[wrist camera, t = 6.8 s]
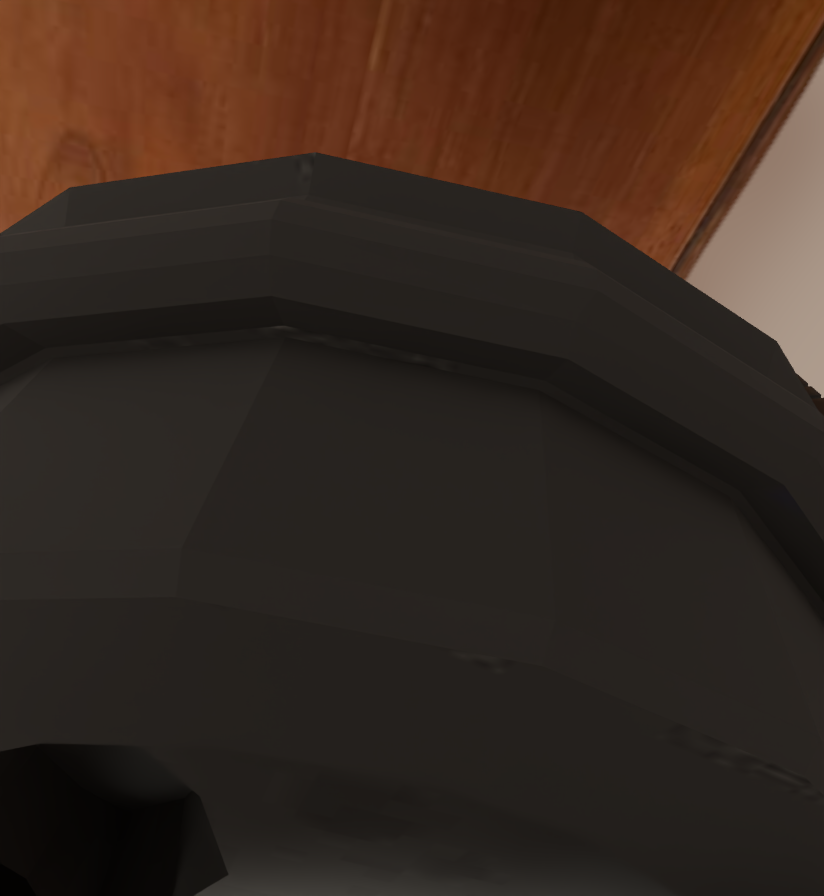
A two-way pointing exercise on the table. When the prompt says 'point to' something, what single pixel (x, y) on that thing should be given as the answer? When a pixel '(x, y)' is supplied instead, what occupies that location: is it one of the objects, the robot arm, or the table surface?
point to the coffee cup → (396, 552)
